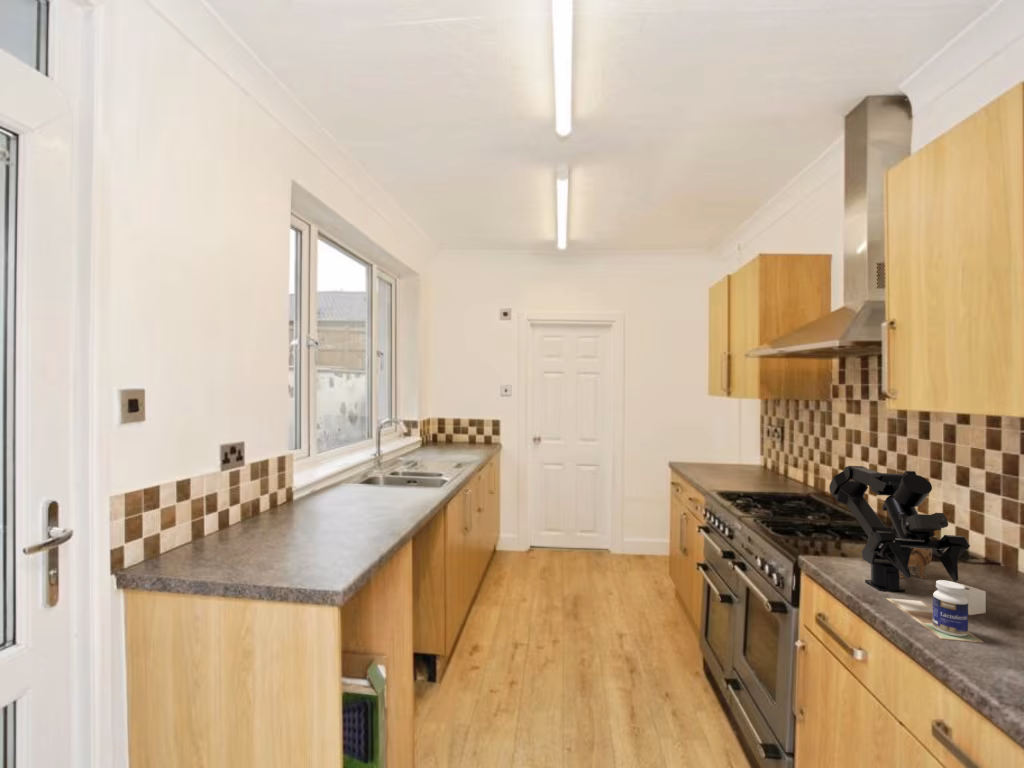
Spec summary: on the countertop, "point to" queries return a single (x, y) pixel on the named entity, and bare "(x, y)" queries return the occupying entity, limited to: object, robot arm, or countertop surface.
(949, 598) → the pill bottle
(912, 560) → the lion figurine
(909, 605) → the game board
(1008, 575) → the countertop surface
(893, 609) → the countertop surface
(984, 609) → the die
